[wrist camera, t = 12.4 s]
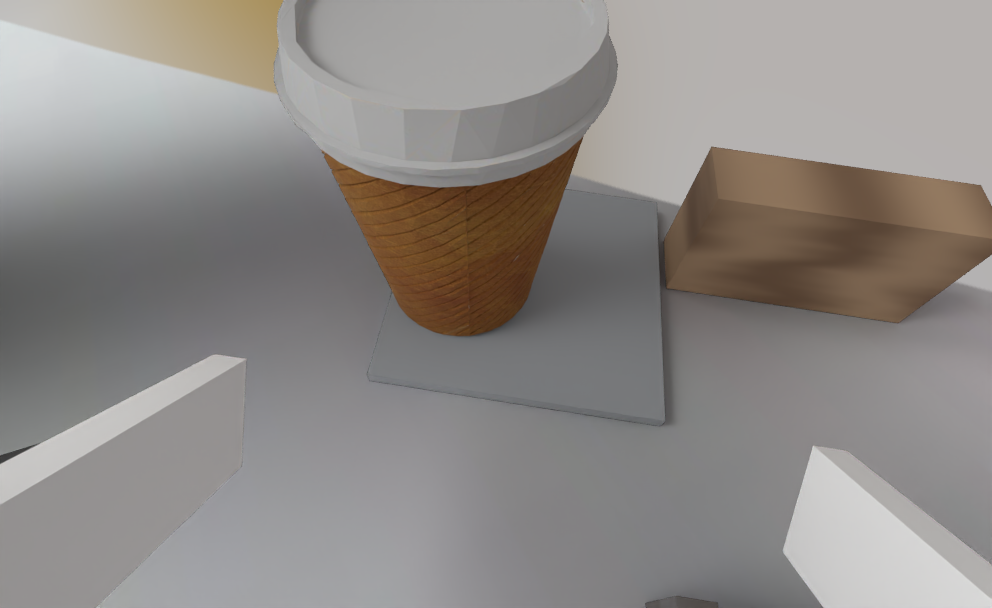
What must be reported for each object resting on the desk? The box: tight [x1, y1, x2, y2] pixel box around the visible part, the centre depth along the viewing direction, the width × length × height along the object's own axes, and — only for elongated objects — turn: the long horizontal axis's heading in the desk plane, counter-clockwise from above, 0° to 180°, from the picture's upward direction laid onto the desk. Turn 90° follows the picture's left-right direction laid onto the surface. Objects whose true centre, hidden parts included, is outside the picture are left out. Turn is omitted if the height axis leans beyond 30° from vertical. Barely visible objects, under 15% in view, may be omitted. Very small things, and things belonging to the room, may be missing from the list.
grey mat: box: [367, 189, 665, 426], centre depth 24 cm, size 12×12×1 cm
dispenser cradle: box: [646, 147, 992, 608], centre depth 19 cm, size 13×18×6 cm
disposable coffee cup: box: [274, 0, 618, 336], centre depth 19 cm, size 10×10×12 cm
